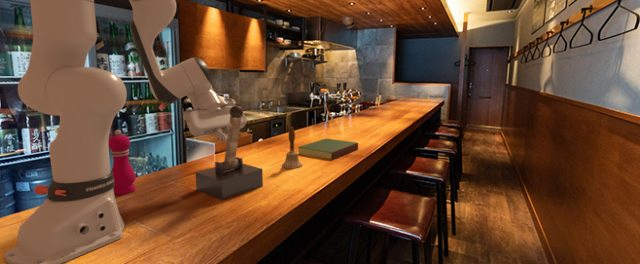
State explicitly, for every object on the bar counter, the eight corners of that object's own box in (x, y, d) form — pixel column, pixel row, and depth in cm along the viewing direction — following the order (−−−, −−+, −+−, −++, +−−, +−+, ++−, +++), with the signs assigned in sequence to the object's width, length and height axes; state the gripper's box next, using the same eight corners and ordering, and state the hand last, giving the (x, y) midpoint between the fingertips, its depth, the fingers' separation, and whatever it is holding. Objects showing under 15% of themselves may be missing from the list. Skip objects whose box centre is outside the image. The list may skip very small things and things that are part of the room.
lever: (217, 168, 111) (225, 104, 103) (232, 164, 116) (241, 102, 108) (224, 173, 109) (233, 108, 101) (239, 169, 113) (249, 107, 106)
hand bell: (305, 167, 137) (305, 128, 134) (285, 169, 134) (284, 129, 131) (298, 162, 144) (298, 124, 142) (279, 164, 141) (278, 126, 139)
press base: (196, 189, 111) (194, 161, 109) (236, 177, 124) (235, 152, 122) (222, 199, 103) (221, 169, 101) (262, 186, 115) (262, 158, 113)
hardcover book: (332, 160, 149) (332, 152, 148) (297, 154, 159) (297, 147, 158) (358, 149, 169) (358, 142, 169) (326, 145, 179) (326, 138, 179)
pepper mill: (125, 196, 105) (118, 132, 102) (105, 194, 107) (98, 131, 103) (142, 188, 112) (136, 128, 108) (123, 186, 114) (116, 127, 110)
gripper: (183, 103, 104) (204, 139, 100) (237, 99, 120) (257, 130, 116) (177, 117, 108) (196, 152, 104) (230, 110, 123) (249, 141, 119)
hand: (229, 140), depth 110 cm, fingers closed, pressing on lever
